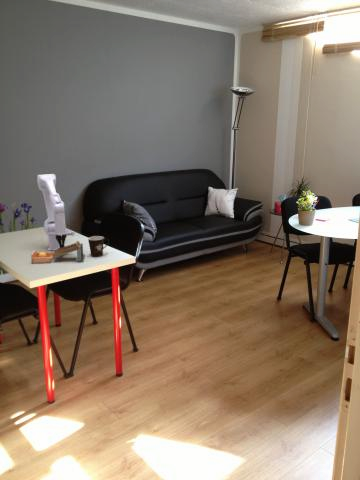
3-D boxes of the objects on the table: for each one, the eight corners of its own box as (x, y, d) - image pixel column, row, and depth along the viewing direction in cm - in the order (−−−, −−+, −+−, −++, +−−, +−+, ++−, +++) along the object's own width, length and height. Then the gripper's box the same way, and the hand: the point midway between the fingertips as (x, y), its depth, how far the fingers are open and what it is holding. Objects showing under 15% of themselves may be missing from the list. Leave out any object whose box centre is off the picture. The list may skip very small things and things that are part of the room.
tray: (35, 257, 243) (34, 249, 241) (54, 257, 244) (53, 248, 242) (31, 263, 233) (30, 254, 232) (51, 263, 234) (50, 254, 233)
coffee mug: (89, 258, 242) (88, 240, 239) (89, 253, 250) (88, 236, 248) (110, 256, 244) (109, 239, 242) (109, 252, 252) (108, 235, 250)
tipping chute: (58, 250, 249) (55, 245, 248) (83, 241, 249) (80, 236, 248) (53, 258, 235) (51, 253, 234) (80, 249, 235) (77, 243, 234)
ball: (43, 249, 239) (48, 255, 240) (38, 254, 239) (42, 259, 240) (42, 252, 235) (47, 257, 236) (36, 256, 235) (41, 261, 237)
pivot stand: (77, 256, 246) (77, 243, 244) (85, 255, 246) (84, 243, 244) (75, 262, 235) (74, 249, 233) (83, 262, 235) (82, 249, 233)
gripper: (45, 226, 238) (47, 250, 242) (72, 225, 240) (74, 249, 243) (47, 223, 245) (49, 246, 249) (74, 222, 246) (75, 245, 250)
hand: (62, 248), depth 246 cm, fingers closed, pressing on tipping chute
